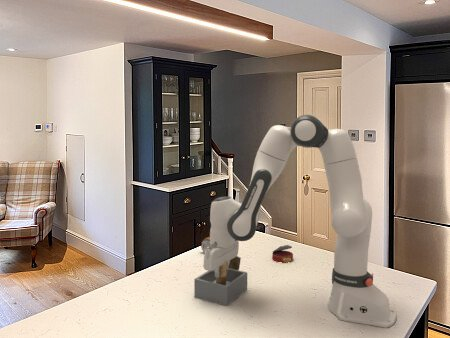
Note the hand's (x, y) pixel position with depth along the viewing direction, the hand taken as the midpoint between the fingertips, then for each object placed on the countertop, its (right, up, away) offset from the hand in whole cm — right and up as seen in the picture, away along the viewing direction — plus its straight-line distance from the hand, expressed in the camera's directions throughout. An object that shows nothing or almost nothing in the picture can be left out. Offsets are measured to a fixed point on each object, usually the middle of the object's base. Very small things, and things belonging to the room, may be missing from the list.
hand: (221, 274), depth 149 cm
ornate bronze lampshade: (+4, -6, +18) cm, 19 cm away
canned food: (+29, -4, +38) cm, 48 cm away
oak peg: (0, -6, +1) cm, 6 cm away
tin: (-4, -3, +43) cm, 44 cm away
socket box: (0, -7, +1) cm, 8 cm away
